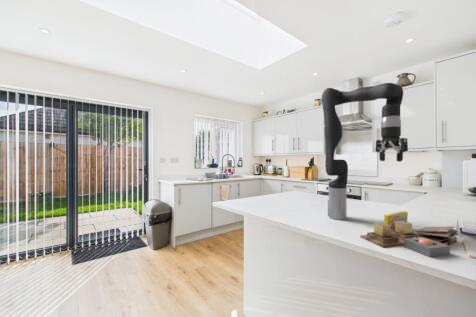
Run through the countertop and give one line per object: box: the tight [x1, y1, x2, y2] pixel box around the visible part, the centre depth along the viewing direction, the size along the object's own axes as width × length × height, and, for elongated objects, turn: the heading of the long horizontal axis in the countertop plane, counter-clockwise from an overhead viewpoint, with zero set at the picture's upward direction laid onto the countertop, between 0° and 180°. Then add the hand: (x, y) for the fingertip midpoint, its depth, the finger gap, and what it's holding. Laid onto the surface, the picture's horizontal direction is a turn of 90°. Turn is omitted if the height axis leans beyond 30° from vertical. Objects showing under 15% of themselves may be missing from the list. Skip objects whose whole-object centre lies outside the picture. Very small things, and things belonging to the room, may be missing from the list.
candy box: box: [383, 210, 409, 230], centre depth 99 cm, size 16×2×8 cm, turn 116°
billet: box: [395, 221, 413, 236], centre depth 89 cm, size 4×4×6 cm
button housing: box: [403, 236, 451, 258], centre depth 77 cm, size 9×9×3 cm
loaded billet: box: [373, 222, 391, 238], centre depth 87 cm, size 4×4×6 cm
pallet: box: [360, 230, 421, 248], centre depth 88 cm, size 11×22×2 cm, turn 103°
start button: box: [419, 237, 434, 246], centre depth 77 cm, size 4×4×4 cm
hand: (390, 161), depth 100 cm, fingers open, 8 cm apart
